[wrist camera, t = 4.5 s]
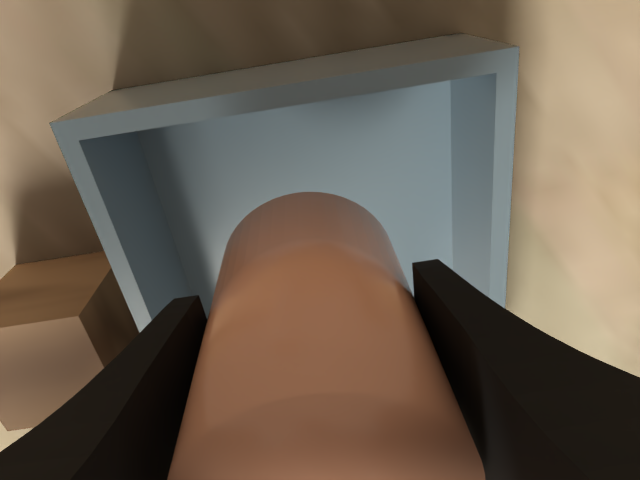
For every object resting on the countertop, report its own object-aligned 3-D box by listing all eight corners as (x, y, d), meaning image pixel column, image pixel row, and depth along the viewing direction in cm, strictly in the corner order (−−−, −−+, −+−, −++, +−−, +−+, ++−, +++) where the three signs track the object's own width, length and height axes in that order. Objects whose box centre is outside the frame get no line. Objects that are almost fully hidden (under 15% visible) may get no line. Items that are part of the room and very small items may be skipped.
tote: (461, 373, 25) (496, 454, 21) (223, 408, 25) (209, 494, 21) (461, 33, 17) (519, 46, 13) (112, 90, 17) (49, 123, 13)
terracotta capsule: (402, 190, 12) (515, 385, 6) (387, 336, 15) (459, 583, 9) (214, 193, 12) (135, 400, 6) (230, 341, 14) (185, 600, 8)
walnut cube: (159, 333, 23) (127, 414, 19) (62, 347, 23) (7, 431, 19) (124, 247, 21) (78, 316, 16) (16, 263, 21) (-59, 336, 16)
